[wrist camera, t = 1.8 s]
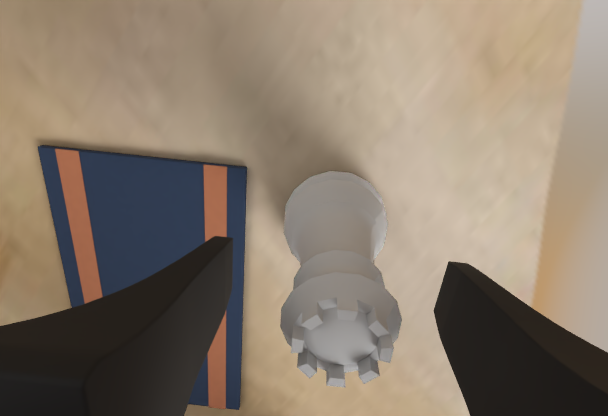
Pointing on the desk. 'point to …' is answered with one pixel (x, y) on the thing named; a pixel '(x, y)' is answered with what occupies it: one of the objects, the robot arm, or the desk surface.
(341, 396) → the desk surface
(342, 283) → the rook chess piece
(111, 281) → the cloth
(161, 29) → the desk surface
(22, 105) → the desk surface
